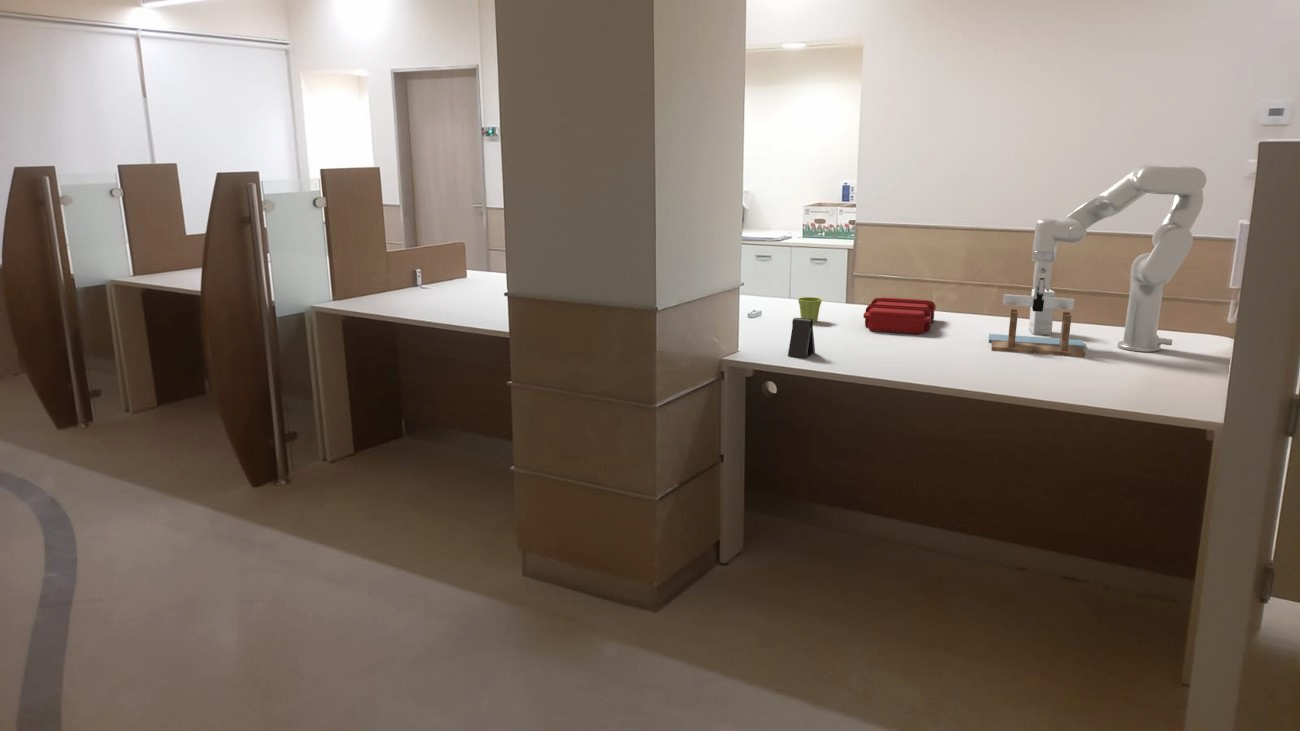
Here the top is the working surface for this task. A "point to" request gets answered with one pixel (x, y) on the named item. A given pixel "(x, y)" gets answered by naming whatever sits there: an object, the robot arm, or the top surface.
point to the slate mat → (1035, 340)
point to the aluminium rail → (1028, 301)
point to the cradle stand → (1039, 348)
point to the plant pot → (809, 307)
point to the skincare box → (1042, 318)
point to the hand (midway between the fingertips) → (1037, 309)
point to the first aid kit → (899, 315)
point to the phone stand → (801, 338)
